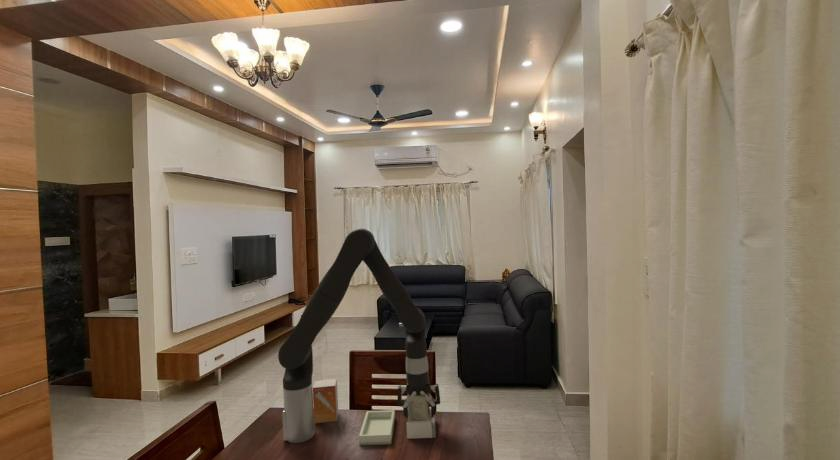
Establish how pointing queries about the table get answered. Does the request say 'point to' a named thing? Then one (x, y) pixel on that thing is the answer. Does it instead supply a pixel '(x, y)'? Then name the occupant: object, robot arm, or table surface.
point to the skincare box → (418, 409)
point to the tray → (377, 428)
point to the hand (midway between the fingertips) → (419, 416)
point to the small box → (325, 401)
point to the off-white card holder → (421, 428)
